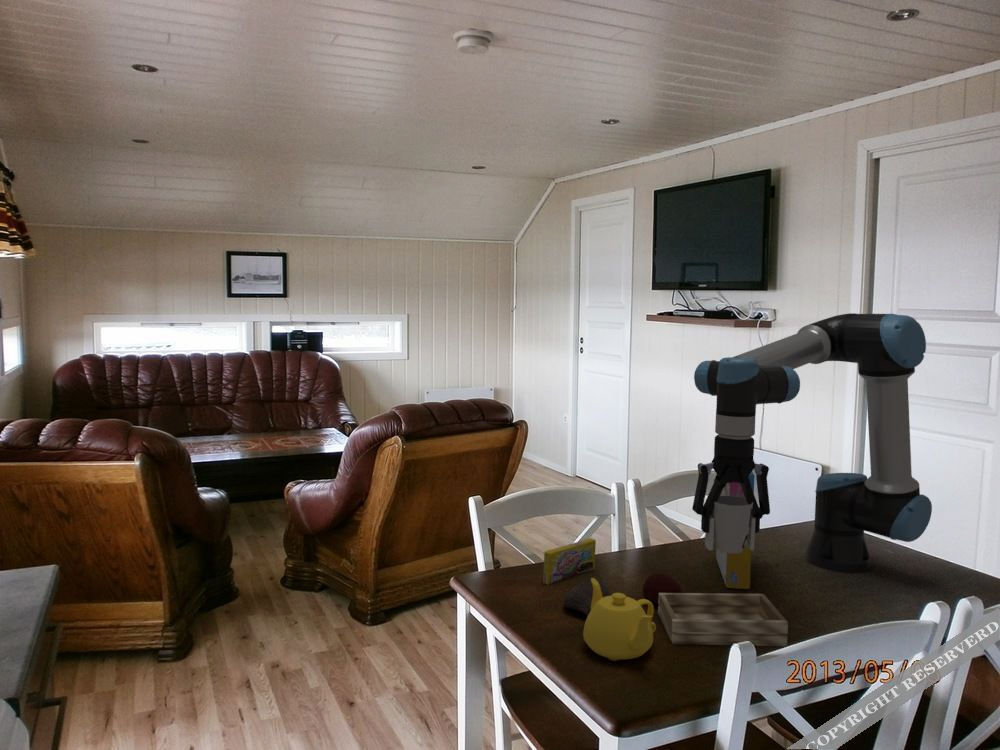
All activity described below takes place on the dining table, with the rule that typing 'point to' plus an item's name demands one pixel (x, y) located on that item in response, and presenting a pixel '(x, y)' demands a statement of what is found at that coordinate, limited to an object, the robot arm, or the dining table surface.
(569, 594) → the stone
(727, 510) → the cup
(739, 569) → the game box
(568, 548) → the candy box
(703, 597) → the tray
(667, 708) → the dining table surface
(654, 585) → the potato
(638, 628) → the teapot
